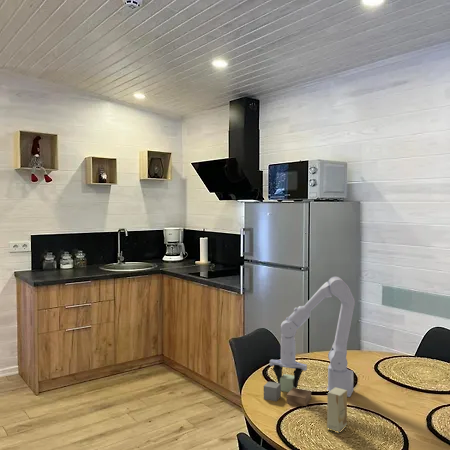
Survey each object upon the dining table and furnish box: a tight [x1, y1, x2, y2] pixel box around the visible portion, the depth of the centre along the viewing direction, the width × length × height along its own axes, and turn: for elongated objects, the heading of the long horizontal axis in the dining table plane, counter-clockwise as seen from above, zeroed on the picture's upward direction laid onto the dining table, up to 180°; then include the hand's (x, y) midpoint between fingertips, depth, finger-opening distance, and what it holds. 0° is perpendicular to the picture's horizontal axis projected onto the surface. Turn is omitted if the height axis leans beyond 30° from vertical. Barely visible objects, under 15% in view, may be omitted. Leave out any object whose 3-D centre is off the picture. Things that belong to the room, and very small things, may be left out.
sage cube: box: [280, 373, 295, 393], centre depth 179 cm, size 5×5×5 cm
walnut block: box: [286, 387, 312, 407], centre depth 168 cm, size 7×7×4 cm
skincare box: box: [326, 387, 348, 432], centre depth 147 cm, size 6×4×12 cm
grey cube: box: [263, 381, 282, 402], centre depth 171 cm, size 5×5×5 cm
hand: (288, 385), depth 179 cm, fingers open, 6 cm apart
